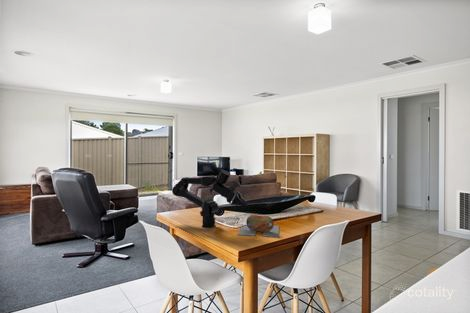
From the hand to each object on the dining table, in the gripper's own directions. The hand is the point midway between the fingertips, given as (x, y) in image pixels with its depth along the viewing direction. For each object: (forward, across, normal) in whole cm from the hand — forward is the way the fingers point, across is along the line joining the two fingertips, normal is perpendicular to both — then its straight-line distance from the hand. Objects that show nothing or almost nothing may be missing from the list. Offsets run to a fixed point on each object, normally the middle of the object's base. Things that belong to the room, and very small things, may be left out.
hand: (246, 205), depth 153 cm
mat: (+13, +2, +8) cm, 15 cm away
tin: (+13, +1, +8) cm, 16 cm away
